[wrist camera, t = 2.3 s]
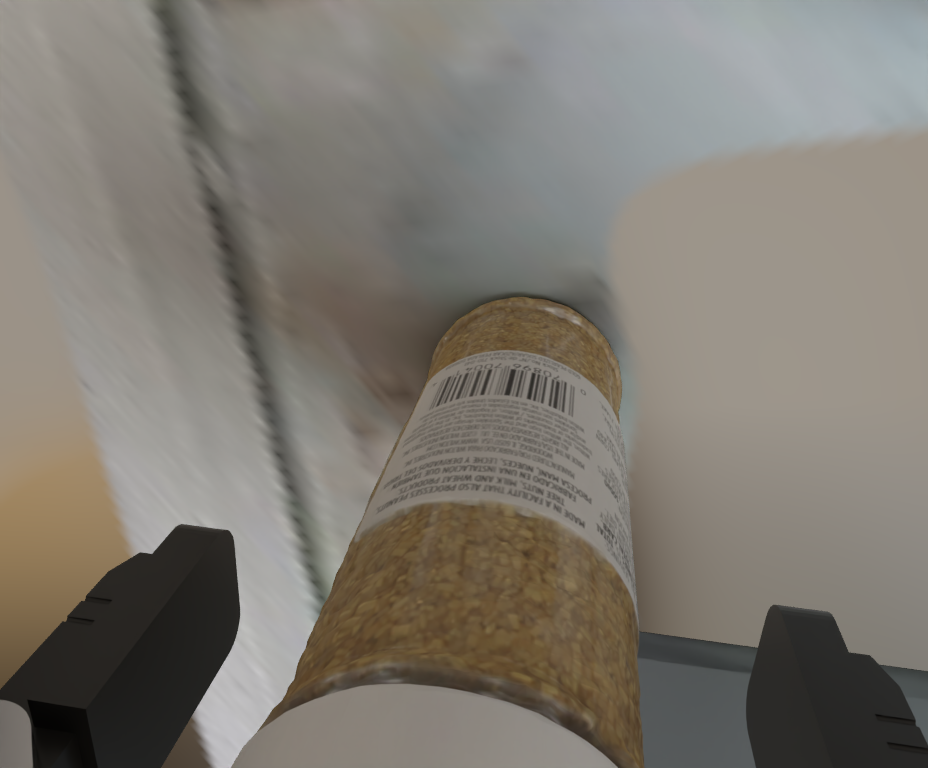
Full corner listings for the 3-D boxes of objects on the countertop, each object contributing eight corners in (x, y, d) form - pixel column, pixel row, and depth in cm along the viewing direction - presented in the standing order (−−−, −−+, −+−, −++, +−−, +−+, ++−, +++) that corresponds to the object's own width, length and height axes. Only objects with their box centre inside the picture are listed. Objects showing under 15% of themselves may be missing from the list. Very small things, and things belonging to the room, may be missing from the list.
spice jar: (412, 431, 19) (111, 1107, 7) (460, 263, 17) (156, 804, 5) (587, 488, 19) (578, 1266, 7) (655, 325, 17) (805, 1022, 5)
